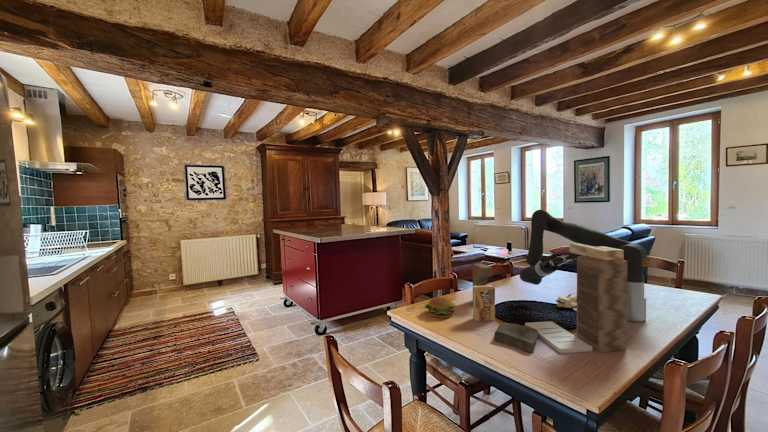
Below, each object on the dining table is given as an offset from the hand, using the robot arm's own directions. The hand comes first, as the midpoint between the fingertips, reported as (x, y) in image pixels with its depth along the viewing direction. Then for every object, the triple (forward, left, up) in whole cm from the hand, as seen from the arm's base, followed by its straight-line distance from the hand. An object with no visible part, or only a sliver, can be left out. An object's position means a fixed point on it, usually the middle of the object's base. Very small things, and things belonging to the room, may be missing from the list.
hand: (565, 254), depth 137 cm
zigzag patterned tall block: (0, +20, -30) cm, 36 cm away
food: (+51, -19, -30) cm, 62 cm away
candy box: (+33, -9, -30) cm, 46 cm away
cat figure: (-20, -20, -30) cm, 42 cm away
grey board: (+13, +13, -30) cm, 35 cm away
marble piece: (+29, +13, -31) cm, 44 cm away
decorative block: (+25, -31, -30) cm, 50 cm away
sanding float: (0, +16, +2) cm, 16 cm away
